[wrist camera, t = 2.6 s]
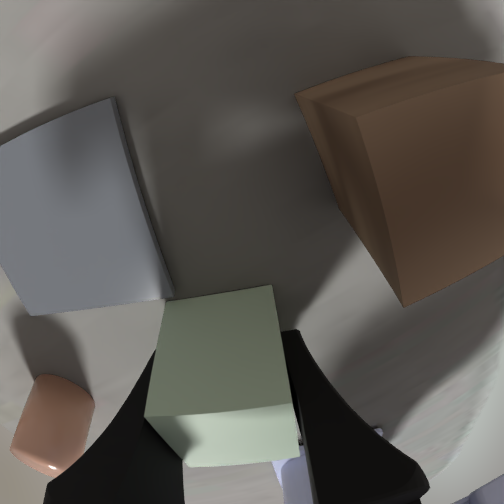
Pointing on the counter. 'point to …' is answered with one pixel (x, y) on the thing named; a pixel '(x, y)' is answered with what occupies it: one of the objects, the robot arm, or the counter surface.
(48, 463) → the terracotta cylinder
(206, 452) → the sage block
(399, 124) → the walnut block
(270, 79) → the counter surface
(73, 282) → the slate coaster
